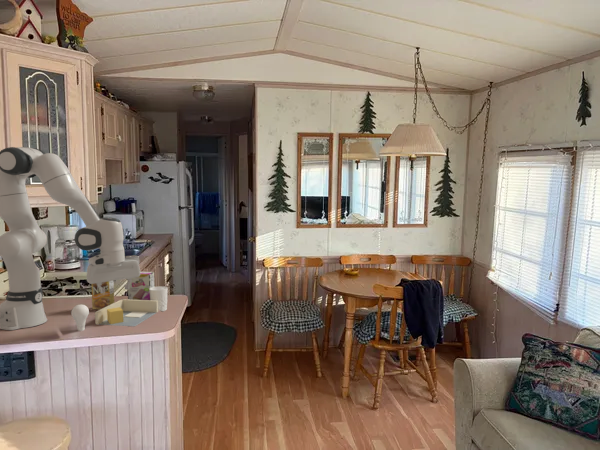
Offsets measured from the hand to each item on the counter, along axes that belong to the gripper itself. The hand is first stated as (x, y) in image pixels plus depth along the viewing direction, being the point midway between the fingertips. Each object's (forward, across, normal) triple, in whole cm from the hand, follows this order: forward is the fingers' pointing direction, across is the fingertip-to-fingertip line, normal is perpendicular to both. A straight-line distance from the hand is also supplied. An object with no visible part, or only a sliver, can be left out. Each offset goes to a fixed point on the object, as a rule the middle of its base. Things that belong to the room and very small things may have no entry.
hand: (115, 291), depth 184 cm
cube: (+13, 0, 0) cm, 13 cm away
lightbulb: (+14, +14, +2) cm, 20 cm away
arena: (+14, -5, -2) cm, 15 cm away
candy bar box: (+14, -16, -19) cm, 28 cm away
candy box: (+14, -1, -27) cm, 30 cm away
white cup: (+14, -21, -10) cm, 27 cm away
